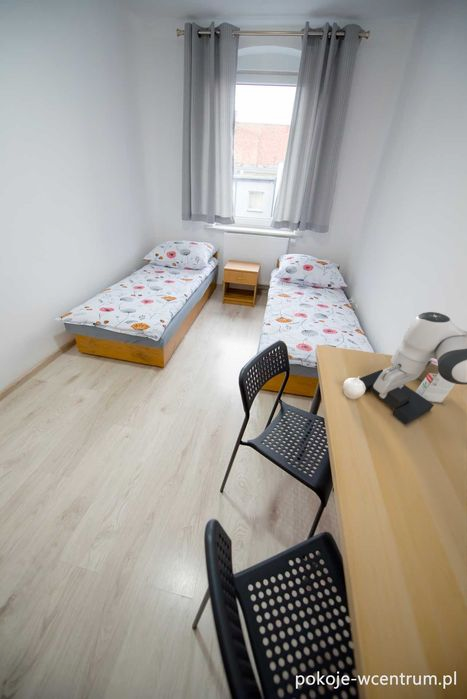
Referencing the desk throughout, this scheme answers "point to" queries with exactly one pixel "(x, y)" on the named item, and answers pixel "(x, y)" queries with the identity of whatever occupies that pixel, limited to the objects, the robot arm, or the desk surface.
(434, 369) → the ink box
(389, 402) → the small pad
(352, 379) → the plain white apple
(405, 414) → the big pad
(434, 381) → the ink box
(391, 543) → the desk surface
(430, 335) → the robot arm
